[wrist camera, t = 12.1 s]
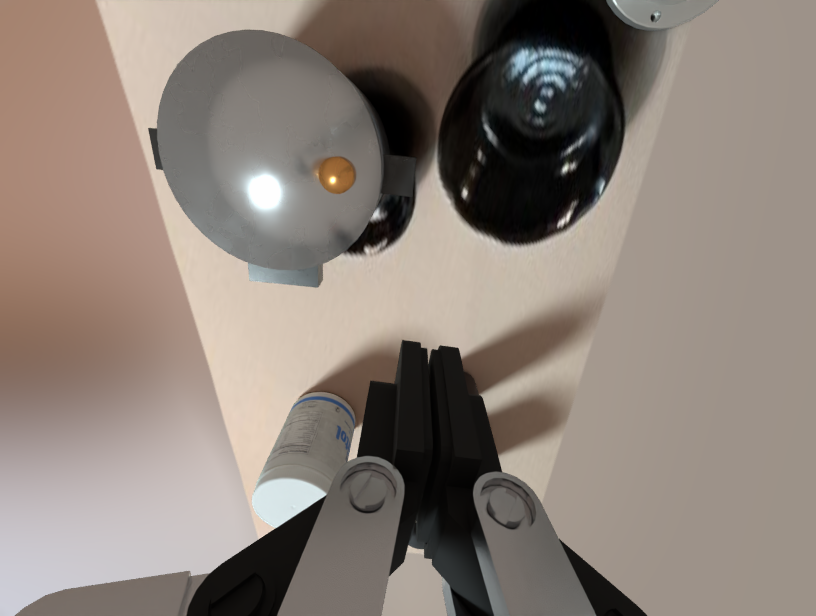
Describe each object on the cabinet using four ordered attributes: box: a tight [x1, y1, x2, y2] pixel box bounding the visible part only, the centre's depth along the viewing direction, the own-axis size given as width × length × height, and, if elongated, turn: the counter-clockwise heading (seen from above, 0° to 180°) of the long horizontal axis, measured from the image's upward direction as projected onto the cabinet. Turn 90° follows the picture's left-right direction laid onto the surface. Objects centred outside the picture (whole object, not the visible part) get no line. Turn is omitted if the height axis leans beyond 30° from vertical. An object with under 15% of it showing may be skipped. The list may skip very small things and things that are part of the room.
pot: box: [148, 74, 416, 287], centre depth 32 cm, size 18×21×11 cm
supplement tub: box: [252, 392, 355, 528], centre depth 45 cm, size 10×10×15 cm
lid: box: [157, 30, 382, 270], centre depth 25 cm, size 16×16×3 cm
